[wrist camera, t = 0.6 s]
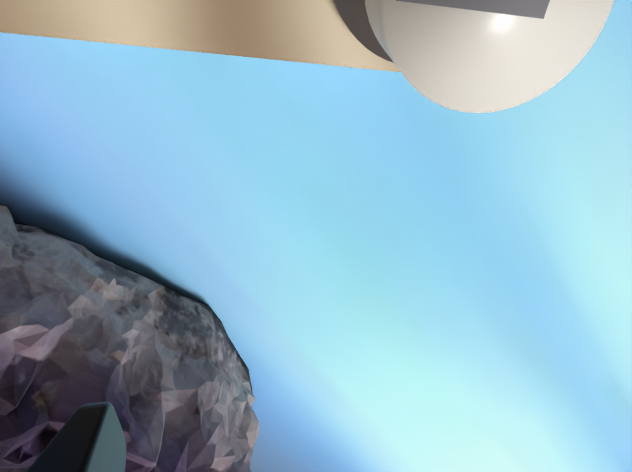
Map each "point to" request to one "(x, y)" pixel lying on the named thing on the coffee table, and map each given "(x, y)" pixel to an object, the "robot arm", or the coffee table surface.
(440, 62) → the knob
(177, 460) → the geode
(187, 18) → the panel
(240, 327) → the coffee table surface
